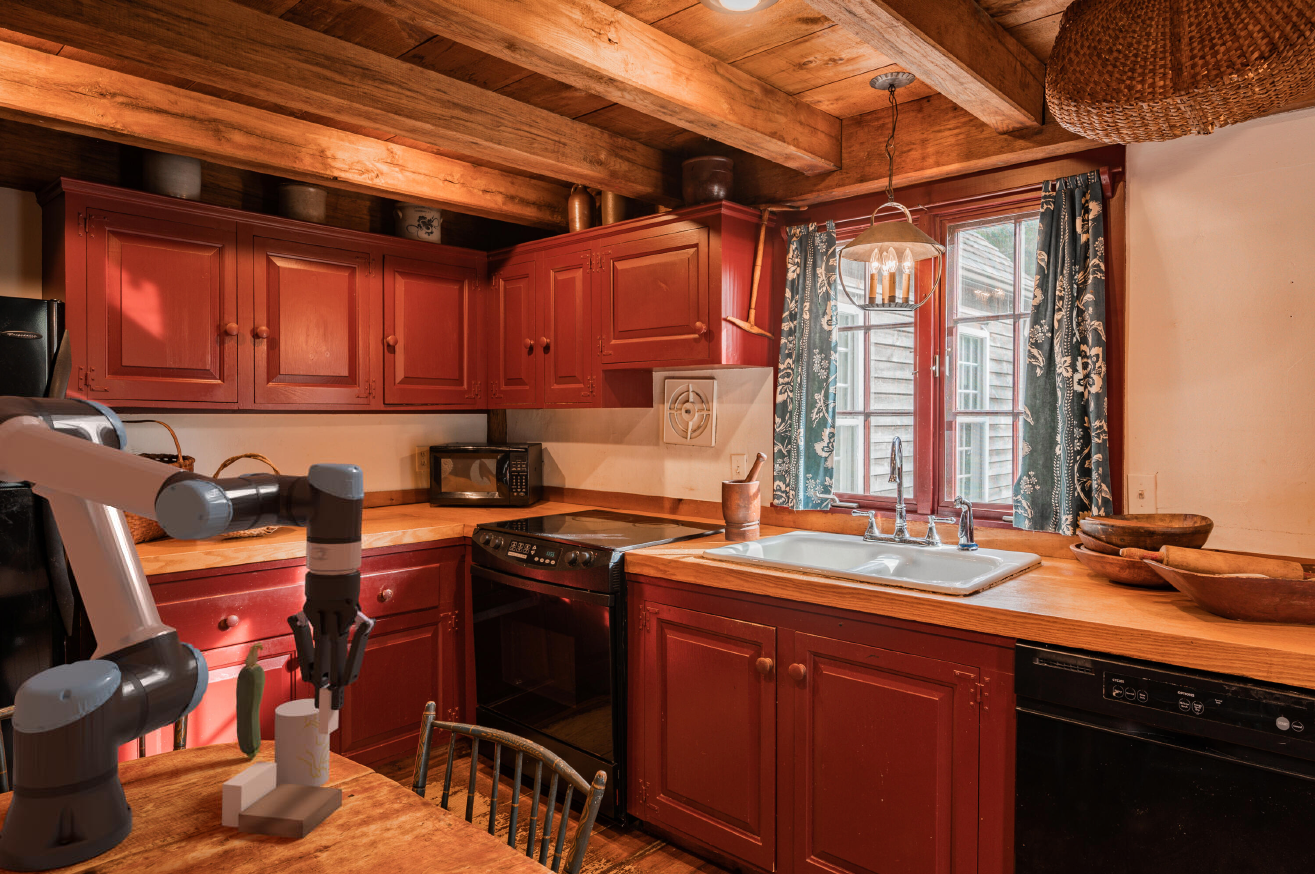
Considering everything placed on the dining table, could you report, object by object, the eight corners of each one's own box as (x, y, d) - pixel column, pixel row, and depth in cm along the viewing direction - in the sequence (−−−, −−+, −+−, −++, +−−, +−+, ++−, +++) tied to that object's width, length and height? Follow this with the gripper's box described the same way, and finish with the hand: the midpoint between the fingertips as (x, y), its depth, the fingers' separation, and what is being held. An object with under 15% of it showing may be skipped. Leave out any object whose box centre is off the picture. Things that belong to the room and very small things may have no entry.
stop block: (222, 825, 115) (222, 783, 115) (258, 799, 123) (258, 761, 123) (241, 827, 114) (241, 785, 114) (275, 801, 122) (276, 762, 122)
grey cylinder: (308, 794, 125) (309, 718, 125) (262, 788, 126) (263, 713, 126) (339, 772, 133) (340, 700, 133) (295, 767, 134) (296, 696, 134)
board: (238, 834, 113) (238, 813, 113) (281, 802, 123) (281, 783, 123) (302, 841, 112) (303, 820, 112) (341, 808, 121) (342, 788, 121)
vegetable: (230, 761, 136) (231, 645, 136) (244, 751, 140) (245, 638, 140) (255, 762, 136) (257, 645, 136) (268, 752, 140) (270, 639, 140)
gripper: (276, 571, 113) (271, 735, 114) (361, 577, 111) (356, 744, 112) (307, 562, 121) (302, 717, 121) (387, 568, 119) (382, 725, 119)
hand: (328, 730), depth 116 cm, fingers closed
